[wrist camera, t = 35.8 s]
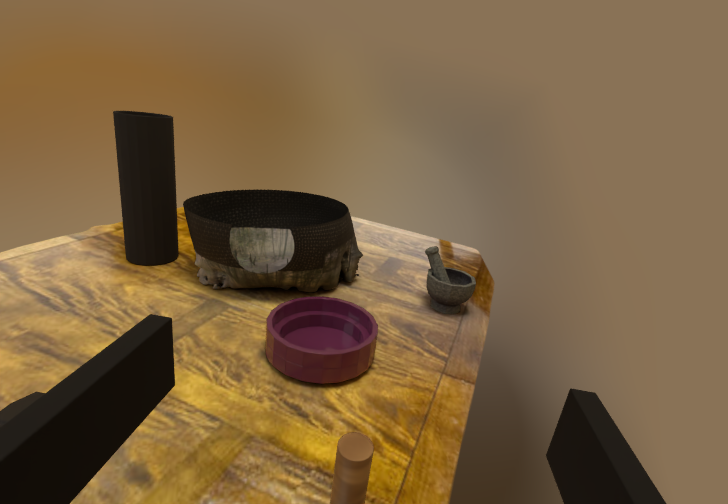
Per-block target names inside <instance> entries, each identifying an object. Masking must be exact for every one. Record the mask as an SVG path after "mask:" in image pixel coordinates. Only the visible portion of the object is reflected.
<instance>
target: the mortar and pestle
mask: <svg viewBox="0 0 728 504" xmlns="http://www.w3.org/2000/svg"><path fill="white" fill-rule="evenodd" d="M438 251H439V249H438V247H437V246H434V247H430V248H428V249H426V250H425V253H426V255H428V259H429V262H430V266H431V269H429V270H428V275H427V290H428V293H429V295H430V296H431V297H432V299H431V307H432V308H434V309H435V310H436V311H439V312H442V313H445V314H455V313H458V312H460V304H462V303H464V302H466V301H467V300H468V299H469V298H470V297H471V296H472V294H473V291H474V289H475V284H476V283H475V278H474V277H473V276H471V275H469V274H468V273H466V272H464V271H461V270H457V269H454V268H448V267H444V265H443V263H442V260H441V258H440V255H439V253H438Z"/></svg>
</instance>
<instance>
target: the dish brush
mask: <svg viewBox="0 0 728 504" xmlns="http://www.w3.org/2000/svg"><path fill="white" fill-rule="evenodd" d="M373 450H374V447H373V444H372V442H371V440H370V439H369V438H368V437H367V436H365V435H363V434H361V433H356V432H352V433H347V434H345V435H343V436H342V437H341V438H340V439H339V441H338V446H337V453H336V461H335V469H334V476H333V484H332V492H331V500H330V504H364V503H365V497H366V491H367V485H368V480H369V474H370V468H371V462H372V456H373Z"/></svg>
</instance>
